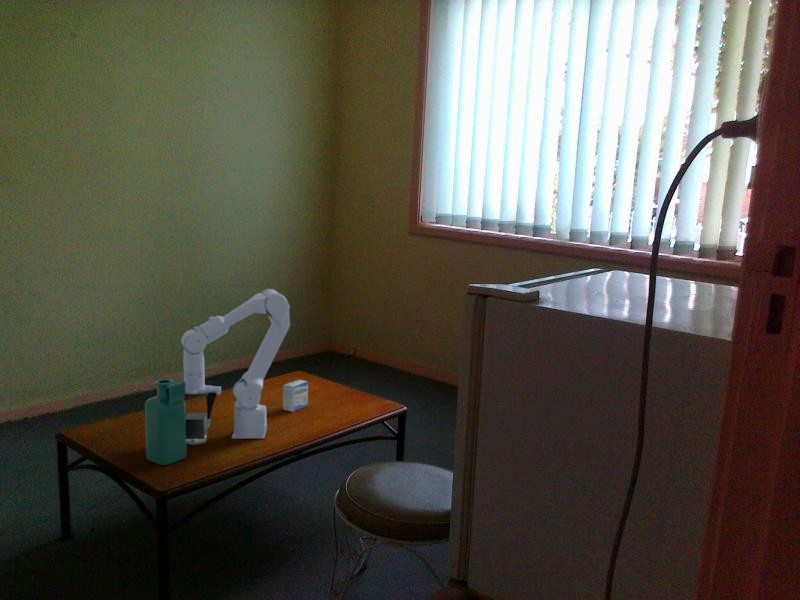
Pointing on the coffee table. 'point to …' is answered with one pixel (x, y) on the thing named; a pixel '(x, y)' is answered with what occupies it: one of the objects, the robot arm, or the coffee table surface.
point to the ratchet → (198, 441)
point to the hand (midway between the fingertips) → (195, 418)
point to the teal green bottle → (166, 423)
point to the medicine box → (295, 395)
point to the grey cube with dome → (196, 425)
